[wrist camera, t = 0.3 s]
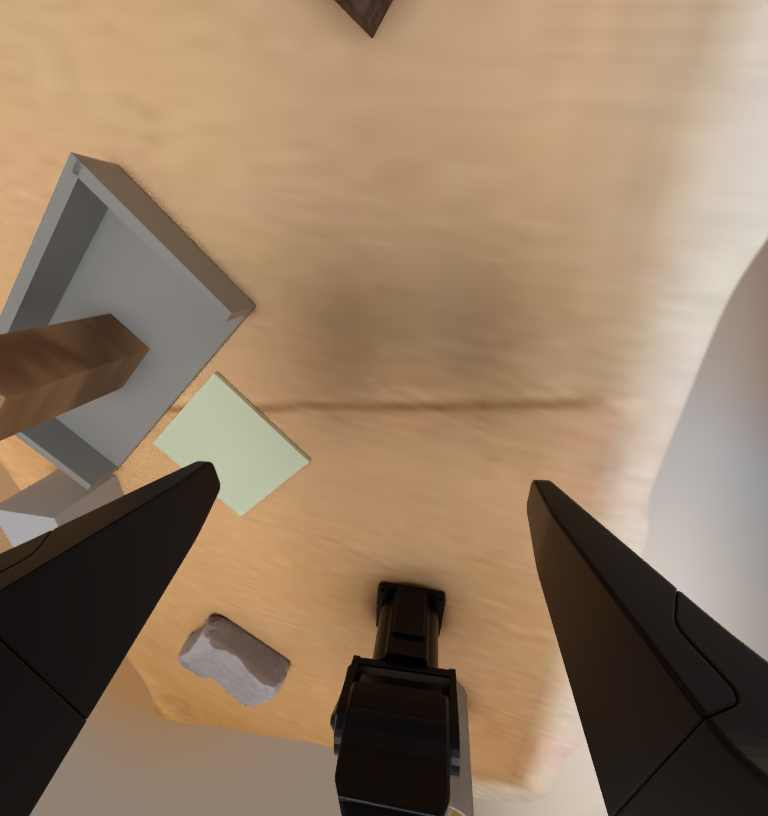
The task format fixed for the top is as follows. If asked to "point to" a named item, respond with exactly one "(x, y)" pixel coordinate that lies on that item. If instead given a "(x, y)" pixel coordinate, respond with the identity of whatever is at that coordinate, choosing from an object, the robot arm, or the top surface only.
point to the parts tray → (119, 308)
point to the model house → (366, 12)
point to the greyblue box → (53, 505)
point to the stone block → (234, 661)
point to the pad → (232, 444)
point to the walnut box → (62, 368)
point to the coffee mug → (462, 765)
